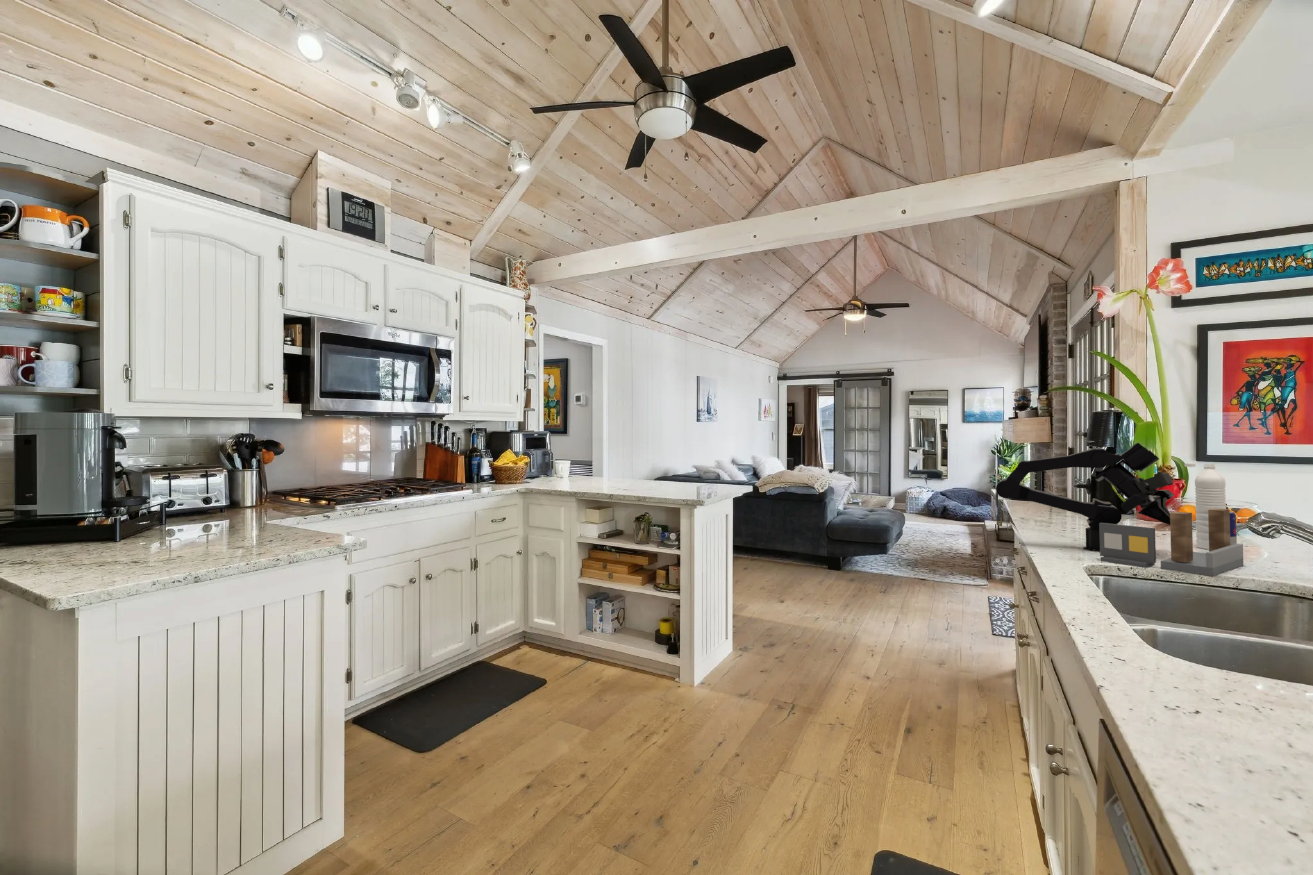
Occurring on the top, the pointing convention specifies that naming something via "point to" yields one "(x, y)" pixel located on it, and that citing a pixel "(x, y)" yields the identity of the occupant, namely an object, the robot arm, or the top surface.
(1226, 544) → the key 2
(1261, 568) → the top surface
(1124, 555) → the card
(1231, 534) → the energy drink
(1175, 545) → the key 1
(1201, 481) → the water bottle
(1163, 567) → the grey stepped base
